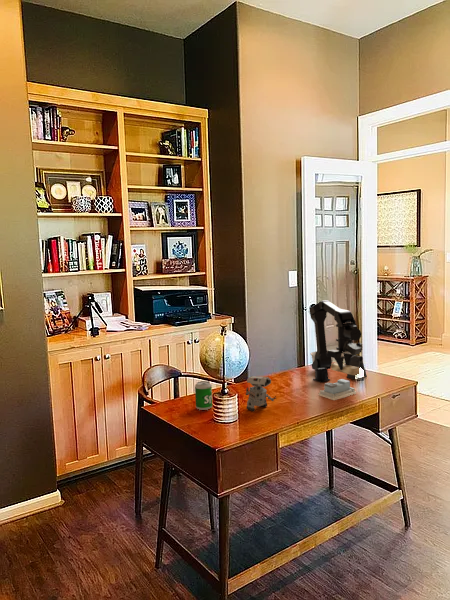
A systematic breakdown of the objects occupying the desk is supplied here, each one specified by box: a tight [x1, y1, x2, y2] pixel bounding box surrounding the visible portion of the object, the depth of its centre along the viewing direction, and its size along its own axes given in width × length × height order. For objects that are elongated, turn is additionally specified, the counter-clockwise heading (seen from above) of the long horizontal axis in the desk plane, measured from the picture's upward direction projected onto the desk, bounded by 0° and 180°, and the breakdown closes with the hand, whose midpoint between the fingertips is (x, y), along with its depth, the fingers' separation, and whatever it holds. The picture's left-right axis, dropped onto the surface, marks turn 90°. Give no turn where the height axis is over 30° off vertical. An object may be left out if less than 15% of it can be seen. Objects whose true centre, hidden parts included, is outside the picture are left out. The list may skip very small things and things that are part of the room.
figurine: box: [245, 375, 277, 412], centre depth 219 cm, size 9×12×15 cm
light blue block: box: [323, 378, 351, 394], centre depth 236 cm, size 12×5×5 cm, turn 123°
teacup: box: [310, 350, 334, 363], centre depth 277 cm, size 12×15×10 cm
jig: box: [318, 386, 357, 401], centre depth 236 cm, size 15×10×2 cm, turn 123°
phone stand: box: [346, 354, 368, 380], centre depth 263 cm, size 9×6×12 cm, turn 124°
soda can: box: [194, 380, 213, 411], centre depth 223 cm, size 8×8×12 cm
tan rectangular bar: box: [330, 361, 359, 375], centre depth 237 cm, size 14×4×3 cm, turn 36°
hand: (344, 369), depth 237 cm, fingers closed on tan rectangular bar, 4 cm apart
